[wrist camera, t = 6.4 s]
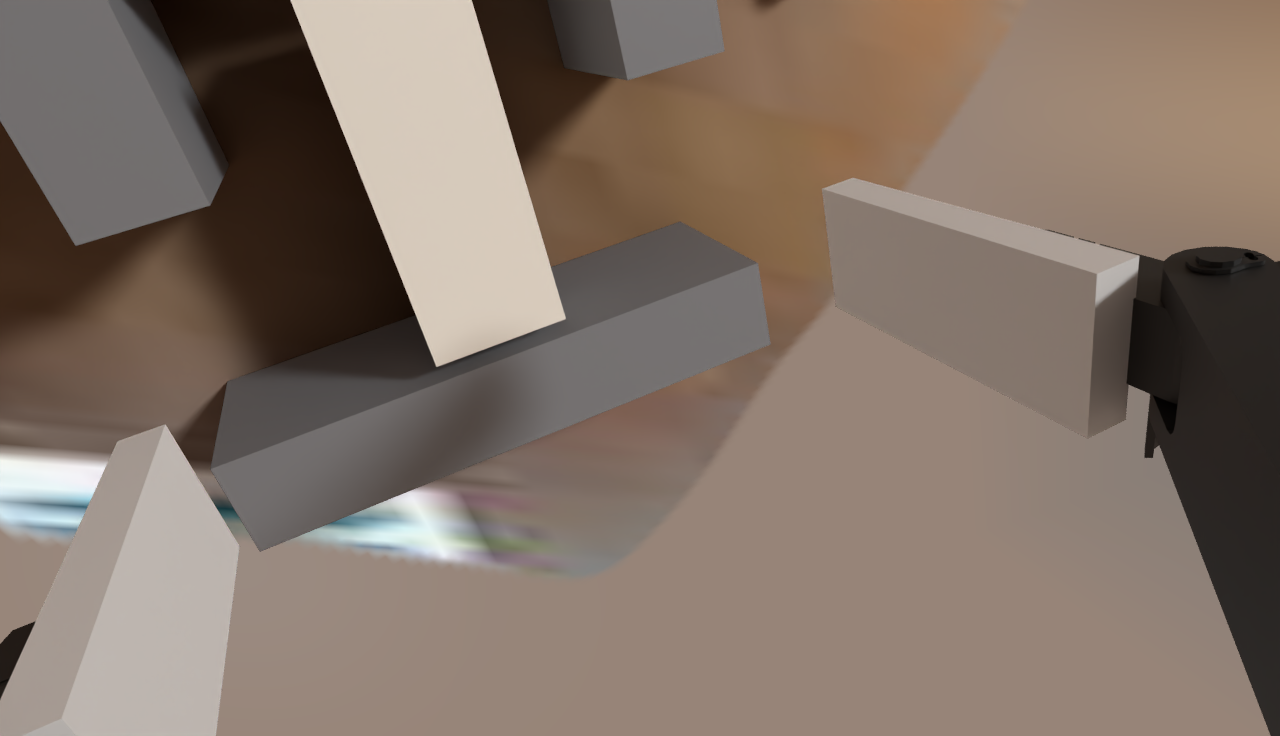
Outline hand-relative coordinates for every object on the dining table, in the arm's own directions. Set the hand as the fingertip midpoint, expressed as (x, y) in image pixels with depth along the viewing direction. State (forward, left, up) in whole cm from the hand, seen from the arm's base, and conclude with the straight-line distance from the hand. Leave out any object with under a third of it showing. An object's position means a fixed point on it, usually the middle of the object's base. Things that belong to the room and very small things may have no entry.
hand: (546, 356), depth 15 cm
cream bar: (-2, 0, -11) cm, 11 cm away
